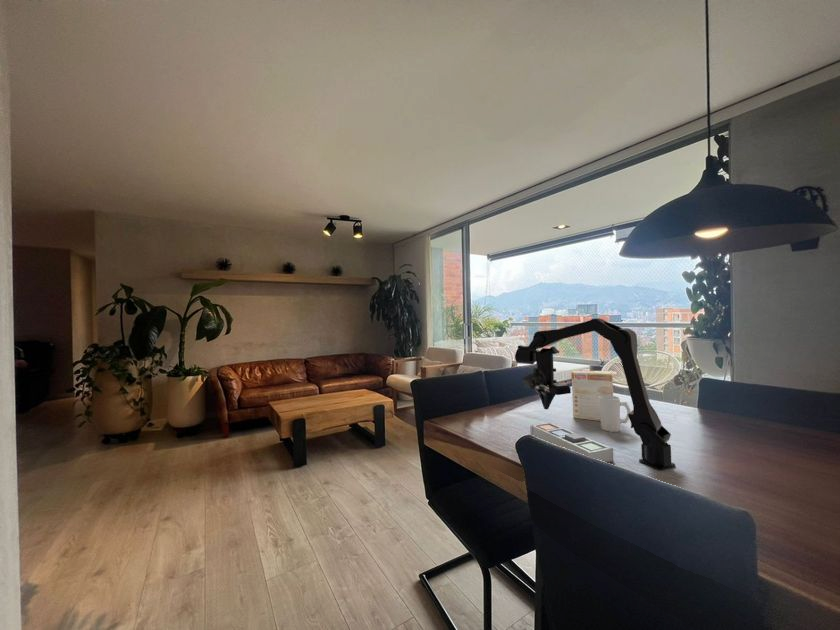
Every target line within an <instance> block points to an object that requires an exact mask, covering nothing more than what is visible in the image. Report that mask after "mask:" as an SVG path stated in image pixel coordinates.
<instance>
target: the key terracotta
mask: <svg viewBox="0 0 840 630" xmlns="http://www.w3.org/2000/svg"><path fill="white" fill-rule="evenodd" d="M539 428H540V429H543V430H545V431H546V430H552V429H556V428H555V427H552V426H550V425H544V426H539Z"/></svg>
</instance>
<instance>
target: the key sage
mask: <svg viewBox="0 0 840 630" xmlns="http://www.w3.org/2000/svg"><path fill="white" fill-rule="evenodd" d="M580 447H582V448H584V449H587V450H589V451H594V450H599V449H602V447H599V446H597V445H594V444H592V443H589V444H584V445H580Z"/></svg>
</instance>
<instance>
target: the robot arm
mask: <svg viewBox="0 0 840 630" xmlns="http://www.w3.org/2000/svg"><path fill="white" fill-rule="evenodd" d="M593 332H595V333H597V334H598V335H600V336H601V337H602V338H604V339H606V340H608V341H609V342H610V344H611V346H612V348H613V350H614V352H615V353H616V355H617V357H618V358H619V359H620V362H621V365H622V370H623V373H624V376H625V380H626V383H627V388H628V392H629V395H630V398H631V403H632V406H633V407H632V409H633V410H630V413H629V414H628V417H629V421H630V425H631V426H630V429H633V430H634V433H635V434H636V435H637V436H639V437H640V441H641V444H640V446H641V458H639V459H638V461H639V463H642V464H645V465H647V466H650V467H652V468H654V469H657V470H658V471H662V470H665V469H670V468H673V467H676V464H675V463H673V462H672V445H671V444H669V443H668V441H670V438H671V436H672V433H671V432H669V431H668V430H667V429H666V427H664V426H663V425H662V422H661V419H660V417H659V416H658V414H657V412H656V410H655V409H654V407H653V406H652V404H651V402H650V399H649V396H648V392H647V388H646V385H645V382H644V378H643V374H642V370H641V367H640V363H639V360H638V345H639V344H638V337H637V333H636V332H635V331H634V330H632V329H630V328H626V327H624V328H623V327H620V326H618V325H616V324H613V323H611V322H608V321H606V320H604V319H603V318H602V317H601V318H599V317H598V318H597V317H596V318H591V319H590V320H587V321H583V322H579V323H576V324H573V325H569V326H565V327H560V328H557V329H556V328H555V329H554V328H553V329H544V330H537V331H536V332H535V333H534V334H533V338H532V340H531V342H530V343H529V344H528V345H524V344H523V345H522V344H519V345H517V349H516V351H515V354H514V360H515V362H516V363H517V364H524V365H534V364H536V367H533V371H532V373H530V374H527V375H526V376H524V377H522V379H521V380H522V385H523V386H524V388H527V389H530V390H533V391H534V392H536V393H537V394H538V396H539V398H540V399H539V400H540V401H541V403H542V406H543V409H544V410H548V409H549V408H550V406H551V403H553V400H554V398H555V397H556V396H560V395H561V396H562V395H569V394H572V386H570V385H569V384H566V383H563V382H560V383H558V382H557V379H555V377H554V376H555V374H554V373H555V372H557V368H555V367H554V355H555V354H559V353H560V351H559V350H558V349H557V348H556V347H555V346H553V345H554V344H556V343H559V342H561V341H563V340H564V339H569V338H572V337H576V336H580V335H585V334H588V333H593ZM549 346H550V347H549ZM547 347H548V348H547Z"/></svg>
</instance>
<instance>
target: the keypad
mask: <svg viewBox="0 0 840 630" xmlns="http://www.w3.org/2000/svg"><path fill="white" fill-rule="evenodd" d="M544 425H550V426H552V427H555V428H556V429H552V430H546V431H545V430H543V429H540V428H539V426H544ZM529 428H530V429H529V430H530V436H531V435H534V436H535V437H538V438H540V439H543V440H545V441H548V442H550V443H553V444H556V445H558V446H561V447H565V448H567V449H570V450H573V451H575V452H578V453H581V454H584V455H586V456H589V457H592V458H595V459H599V460H602V461H605V462H609V463H612V462H614V447H612V446H610V447H609V446H607V445H605V444H603V443H600V442H598V441H596V440H593V439H592V438H588V437H586V436H584V437H585V441H584V442H579V443H574V444H573V443H571V442H569V441H567V440H565V436H560V437H558V436H556V435H554V434H551V432H554V431H559V430H562V431H564V432H566V433H569V434H571V433H575V432H574V431H572V430H569V429H566V428H564V427H563V426H559V425H557V424H554V423H553V422H550V421H549V422H544V423H538V424H532V425H529ZM589 443H592V444H594V445H597V446H599V447H602V449H599V450H594V451H589V450H587V449H584V448H582V447H580V445H584V444H589Z"/></svg>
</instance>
